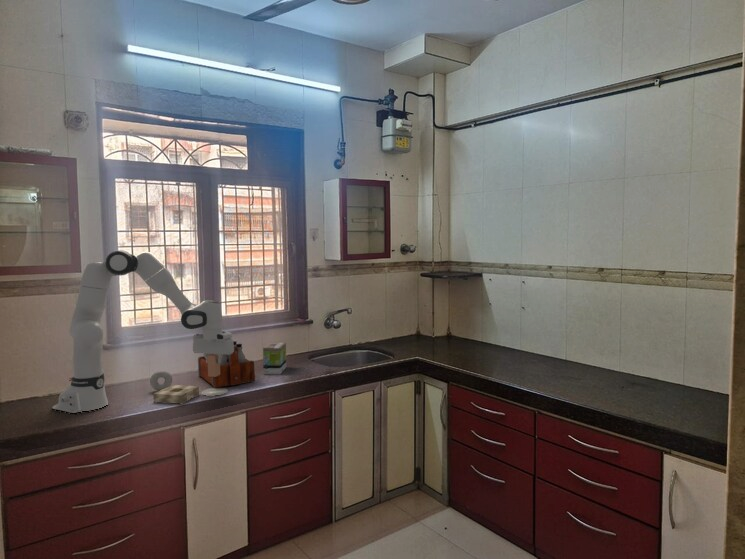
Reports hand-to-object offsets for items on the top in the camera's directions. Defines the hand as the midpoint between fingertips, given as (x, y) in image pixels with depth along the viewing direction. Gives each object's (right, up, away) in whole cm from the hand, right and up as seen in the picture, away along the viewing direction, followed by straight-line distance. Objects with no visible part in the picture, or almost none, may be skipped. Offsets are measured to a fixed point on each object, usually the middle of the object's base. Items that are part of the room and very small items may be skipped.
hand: (213, 362), depth 239 cm
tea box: (+21, -11, +40) cm, 47 cm away
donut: (-27, -15, +5) cm, 31 cm away
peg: (0, -6, +1) cm, 6 cm away
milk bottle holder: (-1, -12, +24) cm, 27 cm away
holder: (-15, -15, -8) cm, 22 cm away
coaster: (0, -14, +1) cm, 14 cm away
